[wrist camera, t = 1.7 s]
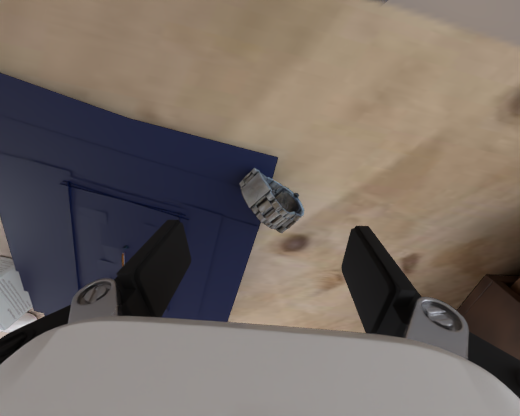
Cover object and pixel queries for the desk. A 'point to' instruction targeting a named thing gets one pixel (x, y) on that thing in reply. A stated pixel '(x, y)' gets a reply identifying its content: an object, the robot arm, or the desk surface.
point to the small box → (11, 294)
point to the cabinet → (495, 313)
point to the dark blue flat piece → (118, 199)
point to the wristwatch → (271, 201)
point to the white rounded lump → (21, 322)
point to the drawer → (516, 287)
